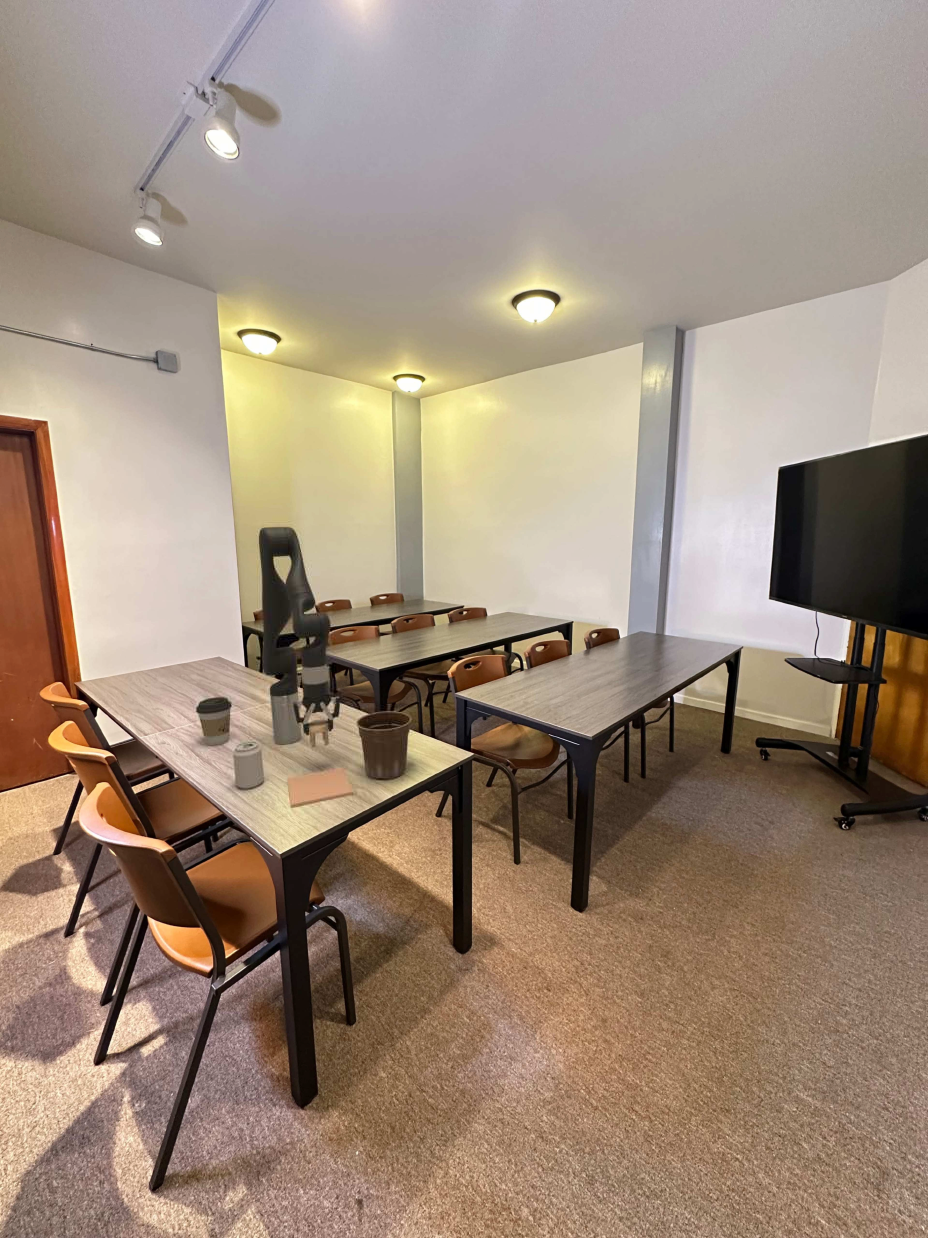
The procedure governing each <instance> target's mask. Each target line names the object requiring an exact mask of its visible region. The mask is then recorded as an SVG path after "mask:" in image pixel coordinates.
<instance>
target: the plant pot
mask: <svg viewBox="0 0 928 1238" xmlns="http://www.w3.org/2000/svg"><path fill="white" fill-rule="evenodd" d="M412 720H413V719H412V716H411V715H409V714H408V713H405V712H400V711H393V710H392V711H391V710H389V711H387V710H385V711H379V712H378V711H377V712H372V713H368V714H365V715H363V716H361V717H359V718H358V719H357V720H356V727H357V728H358V734H359V737H360V740H361V746H362V753H363V762H364V768H365V774H366V775H367V776H368V777H370V779H375V780H380V779H384V780H391V779H394V778H397V777H399V776H402V775H403V774H404V773H405V772H406V770H407V757H408V743H409V733H410V726H411V723H412Z"/></svg>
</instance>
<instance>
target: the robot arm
mask: <svg viewBox="0 0 928 1238" xmlns="http://www.w3.org/2000/svg"><path fill="white" fill-rule="evenodd" d="M258 548H259V557H260V560H259V561H260V567H261V568H260V569H261V609H262V611H261V612H262V613H261V614H262V626H263V636H262V637H263V638H262V639H263V640H262V658H261V659H262V668H263V669H262V670H263V672H264V674H265V675H266V676H268V677H274V676H278V675H284V676H283V677H282V678H281V679H279V680H278V681H277V682H274V683H273V684H271V685H270V687H269V698H270V707H271V709H270V710H271V719H272V721H271V722H272V733H273V741H274V743H275V744H277V745H289V744H293V743H297V742H299V741H300V740H301V739H302V729H303V733H304V734H305V735H306V736H310V732H309V726H308V723H309V719H310V718H311V716H312V714H316V713H324V714H325V715H326V717H327V721H328V724H329V729H328V733H329V732H332V730H333V729H334V719H335V718H338V717H339V716H340V709H341V698H340V696H338V695H336V696H334V697H333V696H331V695H330V685H329V683H330V682H329V678H330V677H329V671H328V670H329V669H328V663H327V646H328V641H329V636H330V632H331V620H330V617H329V616H328V615H327V614H326V613H325V612H313V613H312V612H311V613H307V612H309V611H311V610H312V609H314V607H315V606H316V598H315V596H314V594H313V590H312V588H311V585H310V584H309V583H310V582H309V580H308V577H307V573H306V568H305V563H304V558H303V553H302V550H301V549H302V548H301V545H300V541H299V538H298V535H297V532H296V531H295V529H294V528H292V527H290V526H268V527H266V526H265V527H262V528H261V529H260V530H259V534H258ZM276 557H277V558H278V557H279V558H280V557H289V559H290V563H291V564H290V568H289V570H288V571H289V572H288V573H287V577H286V580H285V581H284V580H283V579H281V576H280V575H279V573H278V572H277V569H276V567H275V564H274V563H275V561H274V558H276ZM291 617H292V630H293V632H294V634H295V636H296V637H298V639H303V640H304V639H309V638H314V640H313V641H312V642H311V643H308V644H306V645H303V647H301V650H300V658H301V684H302V685H301V686H302V696H303V697H302V700H301V701H300V699H299V685H298V683H299V681H298V659H297V658H298V657H297V651H296V649H295V648H294V647H293V646H284V647H283V646H282V647H277V648H276V645H277V644H276V643H277V641H278V639H279V637H280V634H281V633H282V631H283V630H284V629H285V627H286V626H287V624H288V622H289V621H290V619H291ZM331 702H332V704H333V705H334V706H333V712H332V713H331V711H330V709H329V708H328V706H329V705H330V703H331ZM302 706H303V707H304V708H305V711H304V714H303V716H302V717H301V714H300V713H301V711H300V710H301V709H302ZM301 725H302V726H303V727H302V726H301Z"/></svg>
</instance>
